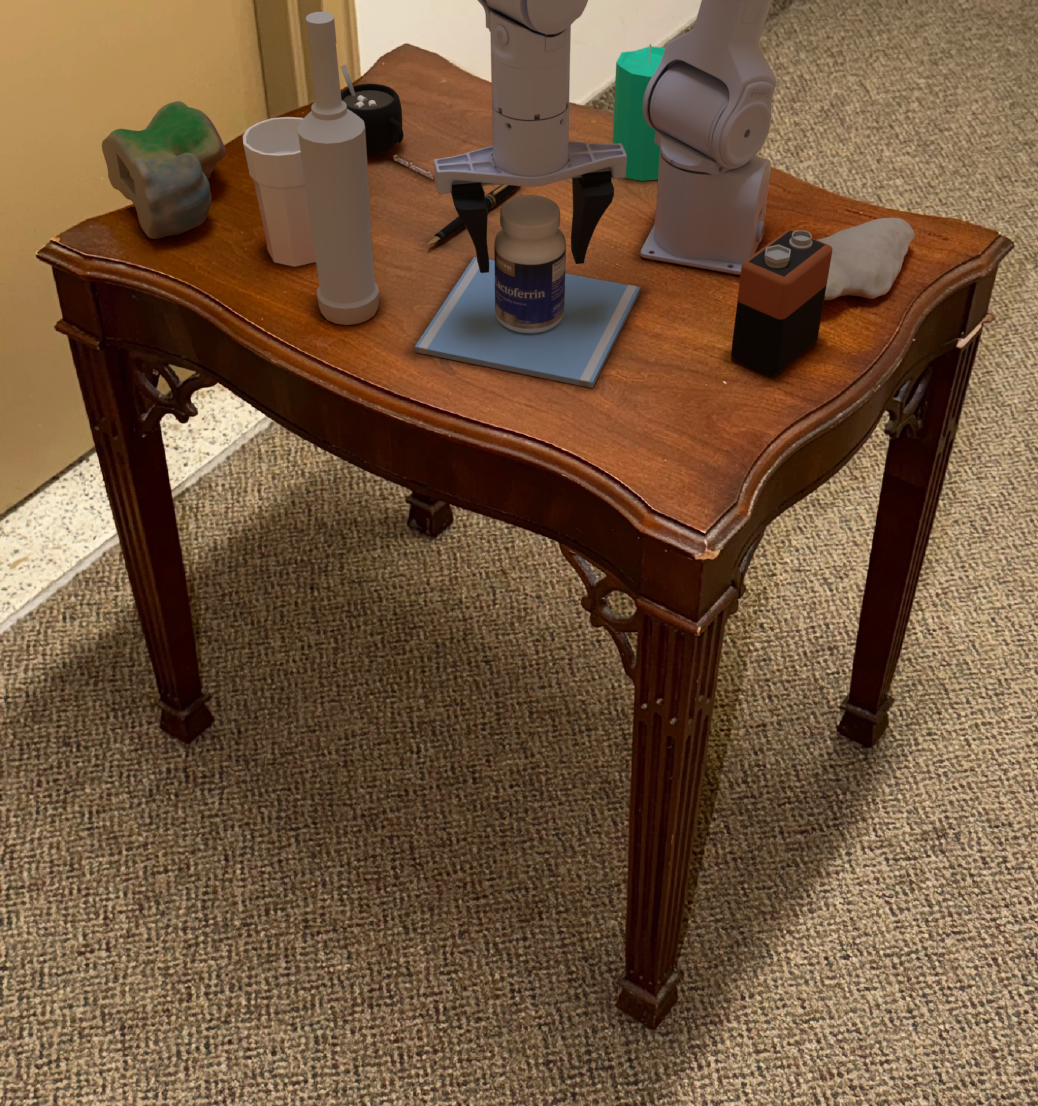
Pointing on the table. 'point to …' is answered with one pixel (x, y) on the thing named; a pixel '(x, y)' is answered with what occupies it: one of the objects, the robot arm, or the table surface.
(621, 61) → the candle
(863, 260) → the stone tool
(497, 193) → the fountain pen
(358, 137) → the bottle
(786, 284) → the battery
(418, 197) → the table surface
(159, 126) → the sculpture
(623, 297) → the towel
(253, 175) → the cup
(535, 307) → the pill bottle
